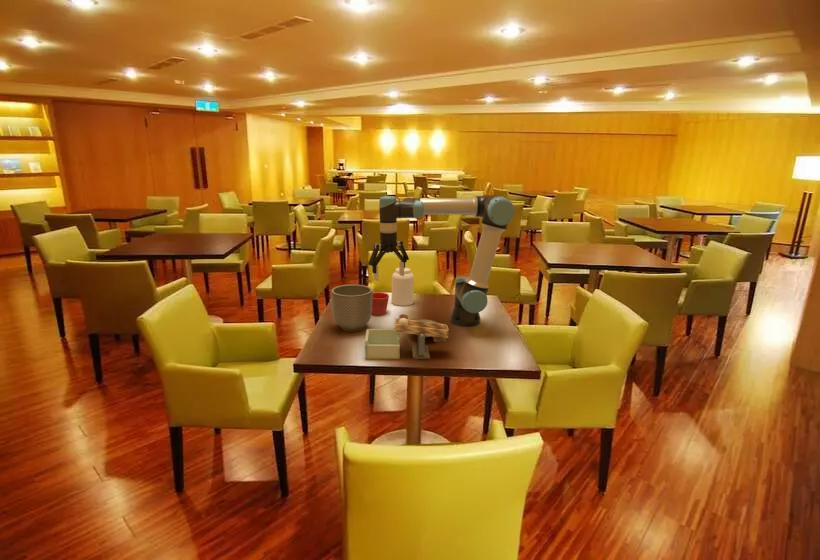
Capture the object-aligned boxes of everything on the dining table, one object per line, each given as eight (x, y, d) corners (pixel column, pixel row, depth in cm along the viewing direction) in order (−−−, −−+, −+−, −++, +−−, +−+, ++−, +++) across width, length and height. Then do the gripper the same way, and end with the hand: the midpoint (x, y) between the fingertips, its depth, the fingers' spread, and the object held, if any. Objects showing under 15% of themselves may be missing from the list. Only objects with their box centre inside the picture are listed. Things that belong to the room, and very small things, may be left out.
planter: (336, 320, 226) (335, 283, 221) (375, 321, 226) (375, 284, 221) (327, 335, 207) (326, 295, 202) (370, 336, 207) (370, 296, 202)
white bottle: (389, 305, 250) (389, 270, 245) (393, 298, 262) (394, 265, 257) (411, 307, 248) (412, 271, 243) (415, 300, 260) (416, 266, 255)
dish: (440, 344, 200) (441, 333, 198) (408, 343, 200) (408, 332, 199) (439, 329, 217) (440, 320, 215) (409, 328, 217) (410, 319, 216)
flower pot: (392, 311, 240) (393, 294, 238) (380, 317, 231) (380, 299, 229) (376, 308, 246) (376, 291, 243) (364, 313, 237) (364, 296, 234)
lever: (442, 327, 204) (444, 315, 203) (446, 343, 186) (449, 330, 185) (393, 321, 202) (395, 309, 201) (394, 337, 185) (396, 324, 183)
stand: (427, 346, 197) (428, 322, 194) (430, 358, 185) (430, 333, 182) (411, 346, 197) (412, 322, 194) (412, 358, 185) (413, 333, 182)
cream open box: (399, 346, 197) (399, 329, 195) (399, 359, 184) (399, 341, 182) (366, 346, 196) (366, 329, 194) (365, 359, 184) (365, 340, 182)
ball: (409, 318, 189) (400, 315, 188) (409, 321, 185) (400, 318, 185) (406, 326, 190) (397, 323, 189) (406, 330, 186) (397, 327, 185)
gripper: (406, 228, 210) (407, 272, 216) (359, 233, 196) (361, 280, 202) (416, 230, 204) (416, 275, 210) (368, 235, 190) (369, 284, 196)
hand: (389, 277), depth 206 cm, fingers open, 13 cm apart
